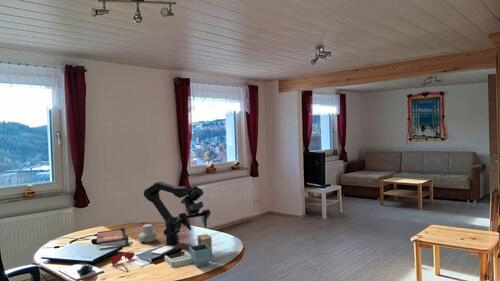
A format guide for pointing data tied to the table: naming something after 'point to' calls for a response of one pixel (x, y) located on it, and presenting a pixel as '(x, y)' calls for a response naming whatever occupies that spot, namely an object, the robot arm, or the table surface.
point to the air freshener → (147, 234)
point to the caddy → (205, 241)
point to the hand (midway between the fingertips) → (198, 228)
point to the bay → (179, 260)
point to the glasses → (127, 255)
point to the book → (112, 238)
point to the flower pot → (200, 254)
